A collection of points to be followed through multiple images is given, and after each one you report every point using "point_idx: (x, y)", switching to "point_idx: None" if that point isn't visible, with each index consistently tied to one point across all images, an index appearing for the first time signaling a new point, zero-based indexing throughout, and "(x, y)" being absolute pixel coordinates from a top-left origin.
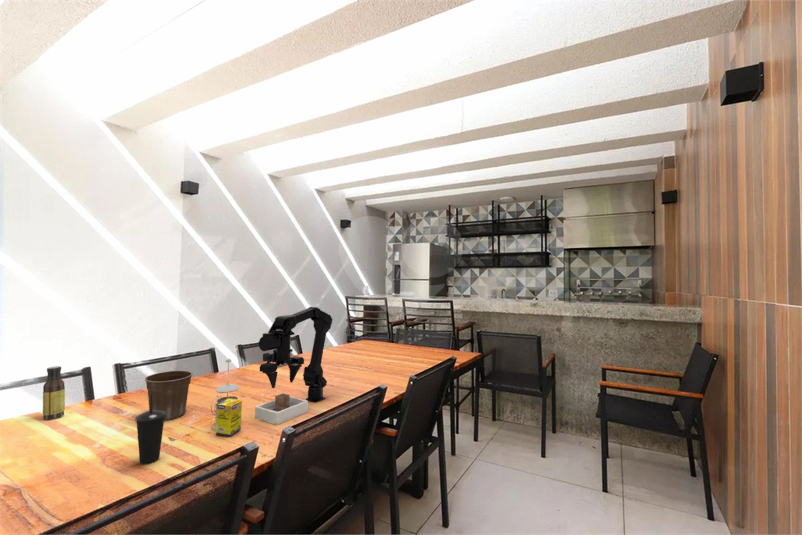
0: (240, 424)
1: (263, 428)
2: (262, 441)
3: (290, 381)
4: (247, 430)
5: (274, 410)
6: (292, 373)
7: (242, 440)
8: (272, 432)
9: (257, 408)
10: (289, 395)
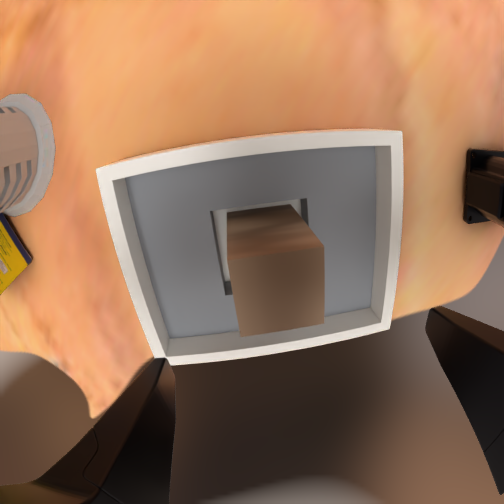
0: (18, 274)
1: (110, 312)
2: (84, 384)
3: (433, 320)
4: (54, 280)
5: (208, 244)
6: (485, 399)
7: (34, 337)
8: (128, 363)
9: (104, 194)
10: (320, 322)
